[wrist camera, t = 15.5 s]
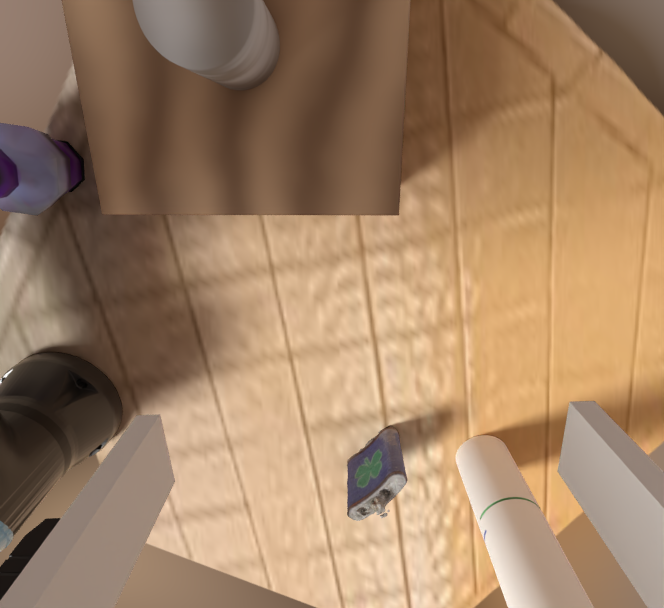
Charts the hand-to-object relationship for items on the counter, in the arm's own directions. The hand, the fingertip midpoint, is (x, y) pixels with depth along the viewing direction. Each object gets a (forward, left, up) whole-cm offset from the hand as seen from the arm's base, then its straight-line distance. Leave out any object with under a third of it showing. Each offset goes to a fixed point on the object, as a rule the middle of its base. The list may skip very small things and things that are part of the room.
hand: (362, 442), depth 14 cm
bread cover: (-8, +16, -37) cm, 41 cm away
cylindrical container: (+19, -31, -37) cm, 52 cm away
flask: (+4, -30, -37) cm, 48 cm away
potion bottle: (-31, +7, -37) cm, 49 cm away
